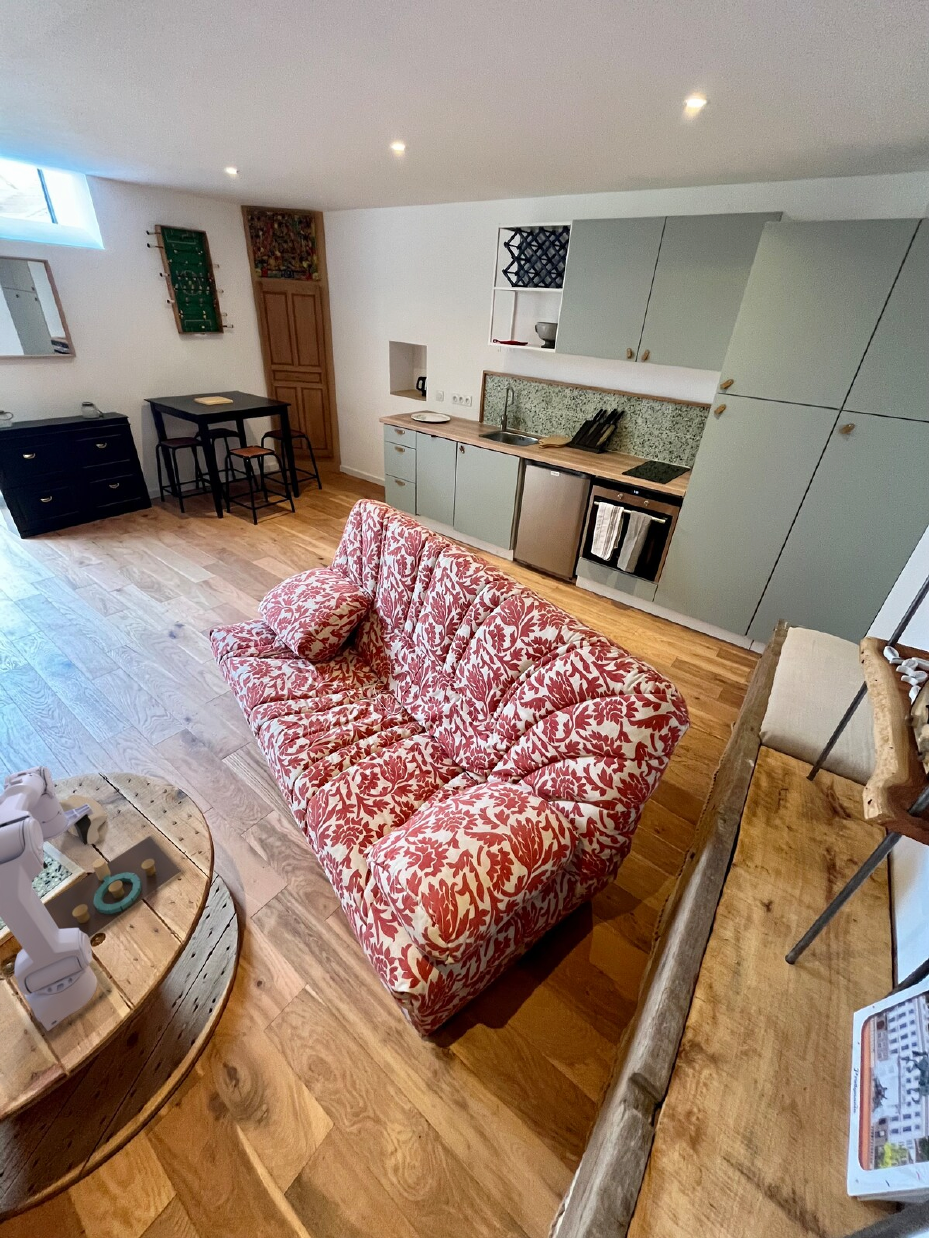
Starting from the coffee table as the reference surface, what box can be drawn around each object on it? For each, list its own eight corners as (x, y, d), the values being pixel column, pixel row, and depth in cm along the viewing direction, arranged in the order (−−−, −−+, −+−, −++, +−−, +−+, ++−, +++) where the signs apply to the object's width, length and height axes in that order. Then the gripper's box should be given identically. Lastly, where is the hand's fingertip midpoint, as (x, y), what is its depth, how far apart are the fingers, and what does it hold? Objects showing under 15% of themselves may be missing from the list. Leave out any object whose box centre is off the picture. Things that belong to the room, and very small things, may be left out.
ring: (106, 922, 109) (100, 908, 107) (81, 886, 115) (74, 873, 113) (148, 891, 116) (143, 878, 113) (122, 859, 122) (117, 846, 119)
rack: (71, 953, 104) (65, 942, 102) (42, 908, 111) (36, 897, 109) (181, 873, 121) (178, 862, 119) (150, 838, 128) (146, 827, 126)
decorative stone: (81, 852, 123) (71, 831, 119) (60, 819, 131) (49, 797, 126) (118, 831, 129) (110, 809, 125) (96, 800, 136) (87, 779, 132)
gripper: (75, 783, 113) (93, 822, 120) (-6, 825, 103) (18, 865, 110) (89, 799, 110) (106, 838, 117) (7, 844, 100) (31, 885, 106)
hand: (64, 853), depth 113 cm, fingers open, 7 cm apart
